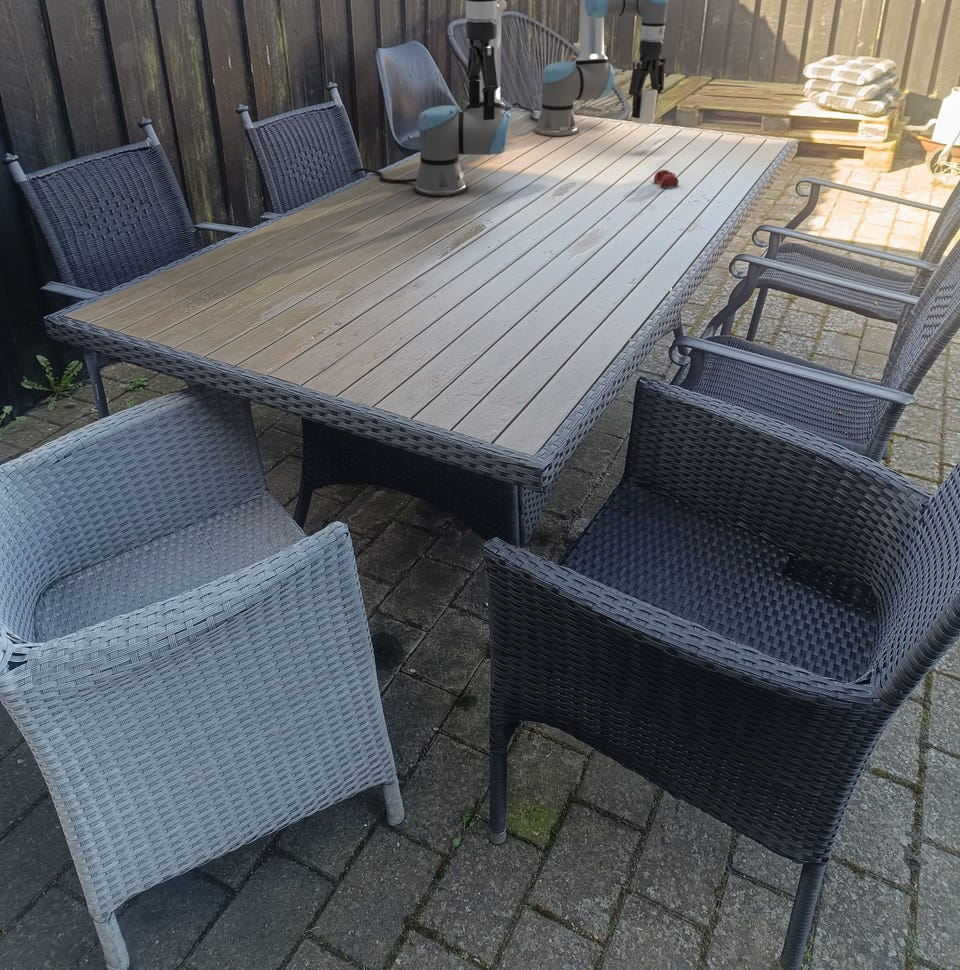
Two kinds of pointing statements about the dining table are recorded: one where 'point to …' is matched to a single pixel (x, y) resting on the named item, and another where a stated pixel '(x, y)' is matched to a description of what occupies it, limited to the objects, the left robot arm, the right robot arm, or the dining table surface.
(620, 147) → the dining table surface
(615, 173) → the dining table surface
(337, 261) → the dining table surface
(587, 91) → the right robot arm
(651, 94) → the cylinder
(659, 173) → the red rounded lump
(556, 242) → the dining table surface
